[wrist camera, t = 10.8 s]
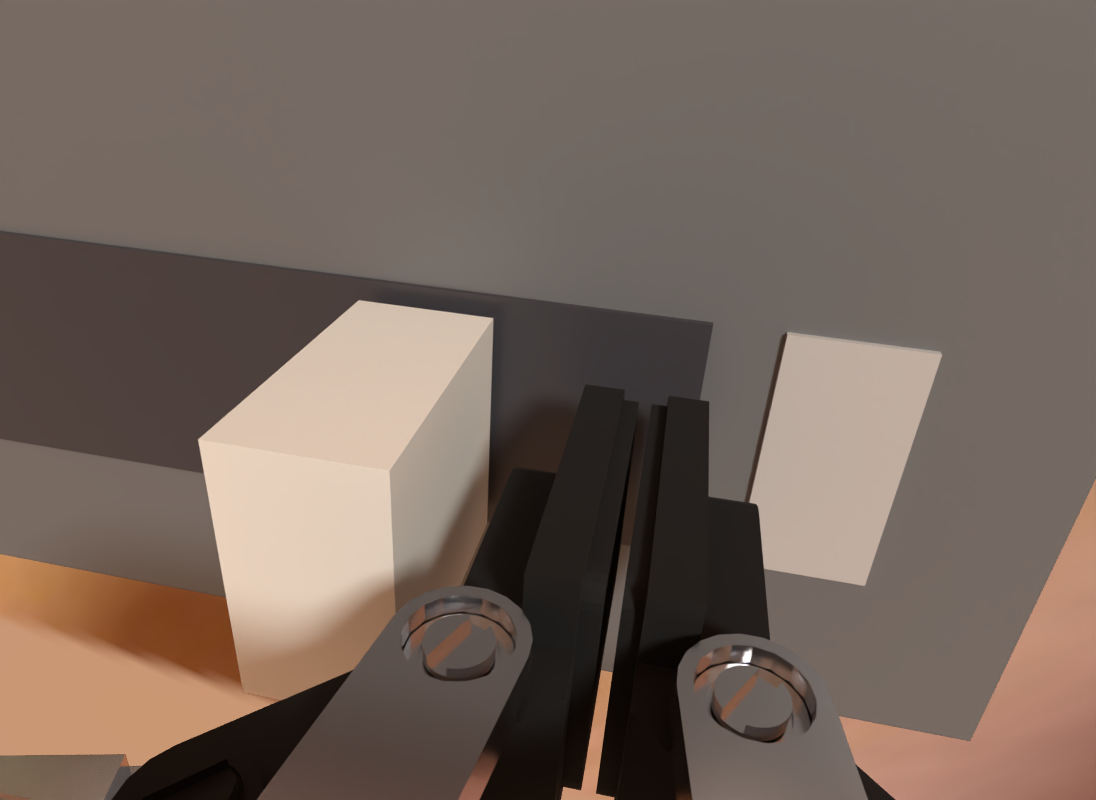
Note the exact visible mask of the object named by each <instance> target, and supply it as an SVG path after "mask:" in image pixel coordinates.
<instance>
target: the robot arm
mask: <svg viewBox="0 0 1096 800" xmlns="http://www.w3.org/2000/svg"><path fill="white" fill-rule="evenodd" d="M624 398H625V390H623V389H616V388H608V387H601V386H594V385H587V384H586V385H585V387H584V390H583V393H582V396H581V399H580V403H579V406H578V409H577V412H576V415H575V418H574V421H573V424H572V427H571V430H570V433H569V436H568V440H567V443H566V446H565V449H564V452H563V455H562V458H561V461H560V464H559V467H558V470H557V473H552V472H546V471H539V470H533V469H526V468H520V467H515V468H513V470H512V472H511V474H510V476H509V479H508V481H507V483H506V486H505V488H504V491H503V493H502V495H501V498H500V500H499V502H498V505H497V507H496V510H495V512H494V514H493V517H492V519H491V521H490V524H489V526H488V529H487V531H486V533H485V536H484V538H483V541H482V543H481V545H480V548H479V550H478V552H477V555H476V557H475V560H474V562H473V564H472V567H471V569H470V572H469V574H468V576H467V579H466V581H465V583H464V586H449V587H443V588H439V589H436V590H432V591H428V592H425V593H423V594H421V595H420V596H418V597H416V598H414V599H412V600H410V601H409V602H407V603H406V604H405V605H404V606H403V607H402V608H401V609H400V610H399V611H398V612H397V613H396V614H395V615H394V616H393V617H392V619H391V620H390V621H389V623H388V624H387V625H386V627H385V628H384V629H383V631H382V632H381V633H380V635H379V636H378V637H377V639H376V640H375V641H374V643H373V644H372V646H371V647H370V648H369V650H368V651H367V652H366V654H365V655H364V656H363V658H362V659H361V660H360V662H359V663H358V664H357V666H356V667H355V668H354V670H351V671H349V672H347V673H344V674H342V675H340V676H337V677H335V678H333V679H330V680H328V681H326V682H323V683H321V684H319V685H316V686H314V687H311V688H309V689H307V690H304V691H302V692H300V693H297V694H295V695H293V696H290V697H288V698H286V699H283V700H281V701H279V702H276V703H274V704H271V705H269V706H267V707H264V708H262V709H260V710H257V711H255V712H253V713H250V714H248V715H246V716H243V717H241V718H239V719H236V720H234V721H231V722H229V723H227V724H224V725H222V726H220V727H217V728H215V729H213V730H210V731H208V732H206V733H203V734H201V735H199V736H196V737H194V738H191V739H189V740H187V741H184V742H182V743H180V744H177V745H175V746H173V747H171V748H170V749H168V750H166V751H164V752H162V753H161V754H159V755H157V756H155V757H153V758H151V759H150V760H149V761H147V762H146V763H145V764H144V765H143V766H129V765H128V762H127V758H126V755H125V754H117V755H26V756H0V800H561V796H562V790H563V787H567V788H572V789H577V790H581V787H582V782H583V776H584V770H585V764H586V758H587V751H588V745H589V739H590V733H591V727H592V721H593V715H594V709H595V703H596V697H597V691H598V685H599V679H600V673H601V667H602V661H603V655H604V649H605V643H606V636H607V630H608V624H609V618H610V612H611V606H612V600H613V594H614V588H615V582H616V575H617V569H618V562H619V554H620V547H621V539H622V531H623V523H624V516H625V508H626V500H627V493H628V485H629V477H630V470H631V462H632V454H633V447H634V439H635V431H636V423H637V416H638V408H639V402H634V401H627V400H624ZM596 794H601V795H606V796H610V797H615V799H614V800H895V799H894V798H893V797H892V796H890V795H889V794H888V793H887V792H886V791H885V790H884V789H883V788H882V787H880V786H879V785H878V784H877V783H876V782H875V781H874V780H873V779H871V778H870V777H869V776H868V775H867V774H866V773H865V772H864V771H862V770H861V769H860V768H859V767H858V766H857V765H856V764H855V761H854V758H853V756H852V753H851V750H850V747H849V744H848V741H847V738H846V736H845V733H844V730H843V727H842V724H841V721H840V719H839V716H838V713H837V710H836V707H835V704H834V702H833V699H832V696H831V694H830V692H829V690H828V689H827V687H826V685H825V683H824V681H823V679H822V677H821V676H820V675H819V674H818V673H817V672H816V671H815V670H814V669H813V668H812V667H811V666H810V665H809V664H808V663H807V662H806V660H804V659H803V658H801V657H800V656H798V655H797V654H795V653H794V652H792V651H791V650H789V649H788V648H786V647H785V646H782V645H780V644H777V643H775V642H772V641H770V632H769V621H768V609H767V598H766V587H765V575H764V564H763V553H762V541H761V530H760V518H759V510H758V506H757V505H756V504H754V503H748V502H741V501H735V500H728V499H722V498H715V497H709V401H703V400H696V399H689V398H681V397H674V396H669V398H668V404H667V406H663V405H656V404H652V406H651V412H650V419H649V426H648V432H647V439H646V446H645V453H644V459H643V466H642V473H641V480H640V486H639V493H638V500H637V506H636V513H635V520H634V527H633V533H632V540H631V547H630V554H629V560H628V567H627V574H626V581H625V588H624V595H623V602H622V609H621V616H620V623H619V631H618V638H617V645H616V652H615V660H614V667H613V674H612V681H611V689H610V696H609V703H608V711H607V718H606V725H605V732H604V740H603V747H602V754H601V762H600V769H599V776H598V783H597V791H596Z"/></svg>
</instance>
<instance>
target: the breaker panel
mask: <svg viewBox="0 0 1096 800" xmlns="http://www.w3.org/2000/svg"><path fill="white" fill-rule="evenodd" d="M358 300H361V301H368V302H376V303H383V304H391V305H398V306H406V307H413V308H421V309H428V310H436V311H443V312H451V313H458V314H466V315H473V316H481V317H488V318H493V348H492V381H491V413H490V445H489V477H488V509H487V525H486V527H485V529H484V532H483V534H482V536H481V539H480V541H479V543H478V546H477V548H476V550H475V553H474V555H473V557H472V560H471V562H470V564H469V567H468V569H467V571H466V574H465V576H464V578H463V581H462V583H461V585H460V586H464V583H465V581H466V579H467V576H468V574H469V572H470V569H471V567H472V564H473V562H474V560H475V557H476V555H477V552H478V550H479V548H480V545H481V543H482V541H483V538H484V536H485V533H486V531H487V529H488V526H489V524H490V521H491V519H492V517H493V514H494V512H495V510H496V507H497V505H498V502H499V500H500V498H501V495H502V493H503V491H504V488H505V486H506V483H507V481H508V479H509V476H510V474H511V472H512V470H513V468H515V467H520V468H526V469H533V470H539V471H546V472H552V473H557V470H558V467H559V464H560V461H561V458H562V455H563V452H564V449H565V446H566V443H567V440H568V436H569V433H570V430H571V427H572V424H573V421H574V418H575V415H576V412H577V409H578V406H579V403H580V399H581V396H582V393H583V390H584V387H585V385H586V384H587V385H594V386H601V387H608V388H616V389H623V390H625V398H624V400H627V401H634V402H639V408H638V416H637V423H636V431H635V439H634V447H633V454H632V462H631V470H630V477H629V485H628V493H627V500H626V508H625V516H624V523H623V531H622V539H621V547H620V554H619V562H618V569H617V575H616V582H615V588H614V594H613V600H612V606H611V612H610V618H609V624H608V630H607V636H606V643H605V649H604V655H603V661H602V667H601V670H604V671H609V672H613V667H614V660H615V652H616V645H617V638H618V631H619V623H620V616H621V609H622V602H623V595H624V588H625V581H626V574H627V567H628V560H629V554H630V547H631V540H632V533H633V527H634V520H635V513H636V506H637V500H638V493H639V486H640V480H641V473H642V466H643V459H644V453H645V446H646V439H647V432H648V426H649V419H650V412H651V406H652V404H656V405H663V406H667V404H668V398H669V396H674V397H681V398H689V399H696V400H703V401H709V497H715V498H722V499H728V500H735V501H741V502H748V503H754V504H756V505H757V506H758V510H759V518H760V530H761V541H762V553H763V564H764V575H765V587H766V598H767V609H768V621H769V632H770V641H772V642H775V643H777V644H780V645H782V646H785V647H786V648H788V649H789V650H791V651H792V652H794V653H795V654H797V655H798V656H800V657H801V658H803V659H804V660H806V662H807V663H808V664H809V665H810V666H811V667H812V668H813V669H814V670H815V671H816V672H817V673H818V674H819V675H820V676H821V677H822V679H823V681H824V683H825V685H826V687H827V689H828V690H829V692H830V694H831V696H832V699H833V702H834V704H835V707H836V710H837V713H838V716H842V717H847V718H852V719H858V720H863V721H868V722H873V723H878V724H884V725H889V726H894V727H899V728H904V729H909V730H915V731H920V732H925V733H930V734H935V735H941V736H946V737H951V738H956V739H961V740H966V741H970V740H971V738H972V736H973V734H974V732H975V730H976V728H977V726H978V723H979V721H980V719H981V717H982V715H983V713H984V711H985V709H986V707H987V705H988V703H989V700H990V698H991V696H992V694H993V692H994V690H995V688H996V686H997V684H998V682H999V680H1000V677H1001V675H1002V673H1003V671H1004V669H1005V667H1006V665H1007V663H1008V661H1009V659H1010V657H1011V654H1012V652H1013V650H1014V648H1015V646H1016V644H1017V642H1018V640H1019V638H1020V636H1021V634H1022V631H1023V629H1024V627H1025V625H1026V623H1027V621H1028V619H1029V617H1030V615H1031V613H1032V611H1033V609H1034V606H1035V604H1036V602H1037V600H1038V598H1039V596H1040V594H1041V592H1042V590H1043V588H1044V586H1045V583H1046V581H1047V579H1048V577H1049V575H1050V573H1051V571H1052V569H1053V567H1054V565H1055V563H1056V560H1057V558H1058V556H1059V554H1060V552H1061V550H1062V548H1063V546H1064V544H1065V542H1066V540H1067V537H1068V535H1069V533H1070V531H1071V529H1072V527H1073V525H1074V523H1075V521H1076V519H1077V517H1078V514H1079V512H1080V510H1081V508H1082V506H1083V504H1084V502H1085V500H1086V498H1087V496H1088V494H1089V492H1090V489H1091V487H1092V485H1093V483H1094V481H1095V479H1096V0H0V554H3V555H8V556H13V557H18V558H24V559H29V560H34V561H39V562H44V563H49V564H55V565H60V566H65V567H70V568H75V569H81V570H86V571H91V572H96V573H101V574H106V575H112V576H117V577H122V578H127V579H132V580H138V581H143V582H148V583H153V584H158V585H163V586H169V587H174V588H179V589H184V590H189V591H195V592H200V593H205V594H210V595H215V596H220V597H226V594H225V588H224V582H223V577H222V571H221V566H220V560H219V554H218V549H217V543H216V537H215V532H214V526H213V521H212V515H211V509H210V504H209V498H208V492H207V487H206V481H205V476H204V470H203V464H202V459H201V453H200V447H199V442H198V439H199V438H200V437H202V436H203V435H204V434H205V433H206V432H207V431H208V430H210V429H211V428H212V427H213V426H214V425H215V424H217V423H218V422H219V421H220V420H221V419H222V418H223V417H225V416H226V415H227V414H228V413H229V412H230V411H232V410H233V409H234V408H235V407H236V406H237V405H238V404H240V403H241V402H242V401H243V400H244V399H245V398H247V397H248V396H249V395H250V394H251V393H252V392H253V391H255V390H256V389H257V388H258V387H259V386H260V385H262V384H263V383H264V382H265V381H266V380H267V379H268V378H270V377H271V376H272V375H273V374H274V373H275V372H277V371H278V370H279V369H280V368H281V367H282V366H283V365H285V364H286V363H287V362H288V361H289V360H290V359H292V358H293V357H294V356H295V355H296V354H297V353H298V352H300V351H301V350H302V349H303V348H304V347H305V346H307V345H308V344H309V343H310V342H311V341H312V340H313V339H315V338H316V337H317V336H318V335H319V334H320V333H322V332H323V331H324V330H325V329H326V328H327V327H328V326H330V325H331V324H332V323H333V322H334V321H335V320H337V319H338V318H339V317H340V316H341V315H342V314H343V313H345V312H346V311H347V310H348V309H349V308H350V307H352V306H353V305H354V304H355V303H356V302H357V301H358Z"/></svg>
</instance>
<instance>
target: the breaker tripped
mask: <svg viewBox="0 0 1096 800" xmlns="http://www.w3.org/2000/svg"><path fill="white" fill-rule="evenodd" d="M492 348H493V318H488V317H481V316H473V315H466V314H458V313H451V312H443V311H436V310H428V309H421V308H413V307H406V306H398V305H391V304H383V303H376V302H368V301H361V300H358V301H357V302H356V303H355V304H354V305H353V306H352V307H350V308H349V309H348V310H347V311H346V312H345V313H343V314H342V315H341V316H340V317H339V318H338V319H337V320H335V321H334V322H333V323H332V324H331V325H330V326H328V327H327V328H326V329H325V330H324V331H323V332H322V333H320V334H319V335H318V336H317V337H316V338H315V339H313V340H312V341H311V342H310V343H309V344H308V345H307V346H305V347H304V348H303V349H302V350H301V351H300V352H298V353H297V354H296V355H295V356H294V357H293V358H292V359H290V360H289V361H288V362H287V363H286V364H285V365H283V366H282V367H281V368H280V369H279V370H278V371H277V372H275V373H274V374H273V375H272V376H271V377H270V378H268V379H267V380H266V381H265V382H264V383H263V384H262V385H260V386H259V387H258V388H257V389H256V390H255V391H253V392H252V393H251V394H250V395H249V396H248V397H247V398H245V399H244V400H243V401H242V402H241V403H240V404H238V405H237V406H236V407H235V408H234V409H233V410H232V411H230V412H229V413H228V414H227V415H226V416H225V417H223V418H222V419H221V420H220V421H219V422H218V423H217V424H215V425H214V426H213V427H212V428H211V429H210V430H208V431H207V432H206V433H205V434H204V435H203V436H202V437H200V438H199V439H198V442H199V447H200V453H201V459H202V464H203V470H204V476H205V481H206V487H207V492H208V498H209V504H210V509H211V515H212V521H213V526H214V532H215V537H216V543H217V549H218V554H219V560H220V566H221V571H222V577H223V582H224V588H225V594H226V599H227V605H228V611H229V616H230V622H231V627H232V633H233V639H234V644H235V650H236V656H237V661H238V667H239V672H240V678H241V684H242V689H243V692H244V693H248V694H253V695H258V696H263V697H267V698H272V699H277V700H283V699H286V698H288V697H290V696H293V695H295V694H297V693H300V692H302V691H304V690H307V689H309V688H311V687H314V686H316V685H319V684H321V683H323V682H326V681H328V680H330V679H333V678H335V677H337V676H340V675H342V674H344V673H347V672H349V671H351V670H354V668H355V667H356V666H357V664H358V663H359V662H360V660H361V659H362V658H363V656H364V655H365V654H366V652H367V651H368V650H369V648H370V647H371V646H372V644H373V643H374V641H375V640H376V639H377V637H378V636H379V635H380V633H381V632H382V631H383V629H384V628H385V627H386V625H387V624H388V623H389V621H390V620H391V619H392V617H393V616H394V615H395V614H396V613H397V612H398V611H399V610H400V609H401V608H402V607H403V606H404V605H405V604H406V603H407V602H409V601H410V600H412V599H414V598H416V597H418V596H420V595H421V594H423V593H425V592H428V591H432V590H436V589H439V588H443V587H449V586H460V585H461V583H462V581H463V578H464V576H465V574H466V571H467V569H468V567H469V564H470V562H471V560H472V557H473V555H474V553H475V550H476V548H477V546H478V543H479V541H480V539H481V536H482V534H483V532H484V529H485V527H486V525H487V509H488V477H489V445H490V413H491V381H492Z"/></svg>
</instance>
